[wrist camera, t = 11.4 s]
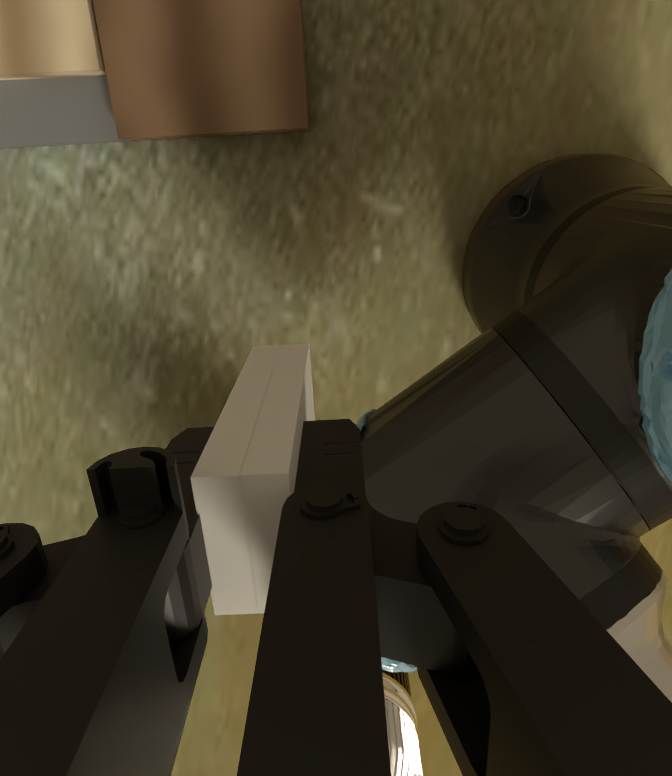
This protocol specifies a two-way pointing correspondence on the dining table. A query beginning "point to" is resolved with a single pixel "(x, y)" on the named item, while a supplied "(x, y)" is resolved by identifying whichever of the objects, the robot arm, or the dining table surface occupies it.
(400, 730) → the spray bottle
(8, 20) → the birch tile
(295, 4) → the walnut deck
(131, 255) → the dining table surface
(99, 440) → the dining table surface
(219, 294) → the dining table surface
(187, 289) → the dining table surface
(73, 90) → the slate mat
